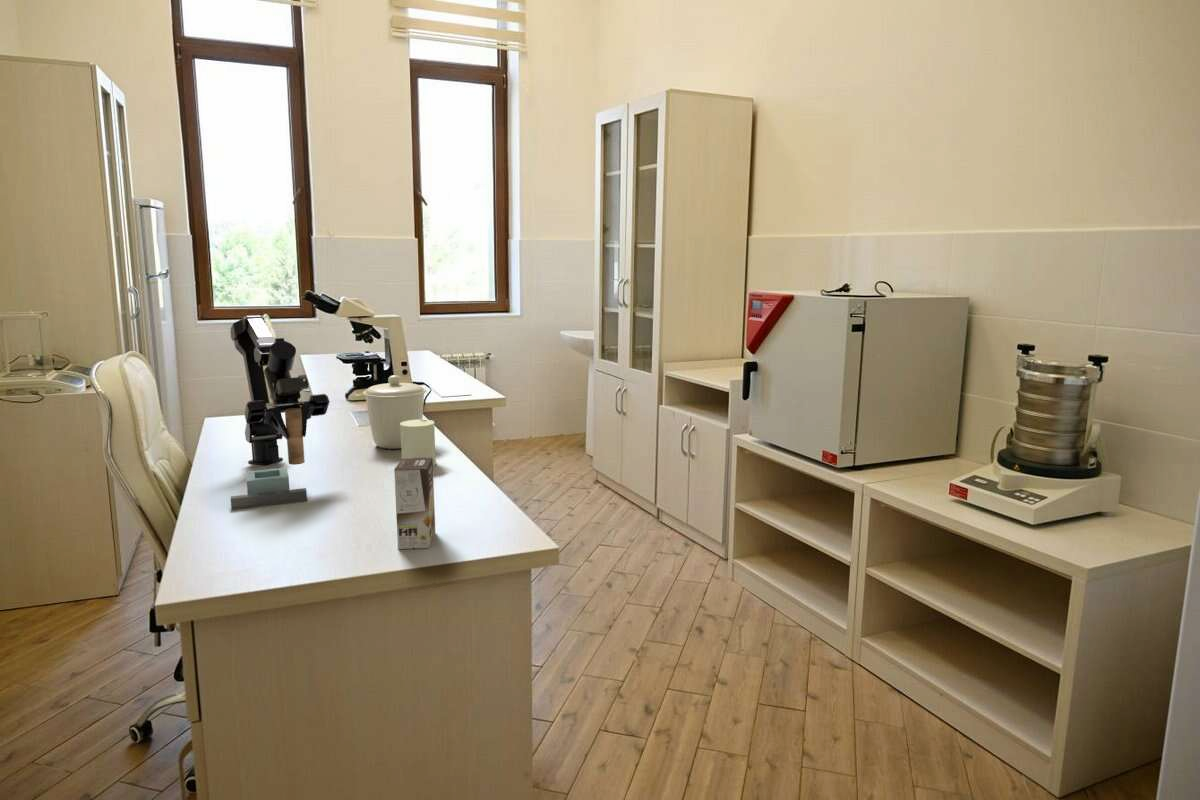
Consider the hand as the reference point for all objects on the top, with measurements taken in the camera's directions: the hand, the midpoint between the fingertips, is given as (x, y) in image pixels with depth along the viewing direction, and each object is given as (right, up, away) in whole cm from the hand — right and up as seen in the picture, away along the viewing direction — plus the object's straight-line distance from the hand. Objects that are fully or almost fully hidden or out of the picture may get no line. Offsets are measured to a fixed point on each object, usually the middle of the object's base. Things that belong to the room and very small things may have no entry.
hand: (296, 436), depth 189 cm
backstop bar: (-3, -15, -7) cm, 17 cm away
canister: (+12, -5, +48) cm, 50 cm away
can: (+23, -9, +27) cm, 37 cm away
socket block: (-7, -14, 0) cm, 15 cm away
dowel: (-1, -6, +2) cm, 7 cm away
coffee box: (+36, -20, -30) cm, 50 cm away
